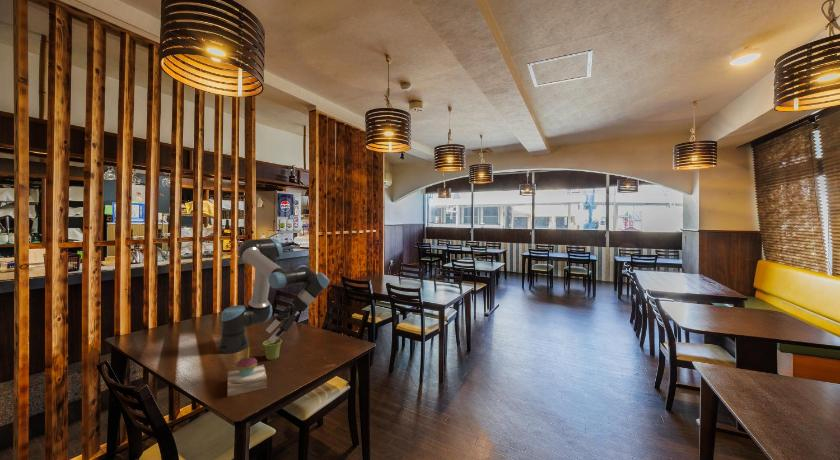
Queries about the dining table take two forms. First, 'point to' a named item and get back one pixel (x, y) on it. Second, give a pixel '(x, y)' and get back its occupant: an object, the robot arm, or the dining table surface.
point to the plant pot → (272, 349)
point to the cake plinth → (246, 381)
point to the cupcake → (246, 365)
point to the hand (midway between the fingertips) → (269, 336)
